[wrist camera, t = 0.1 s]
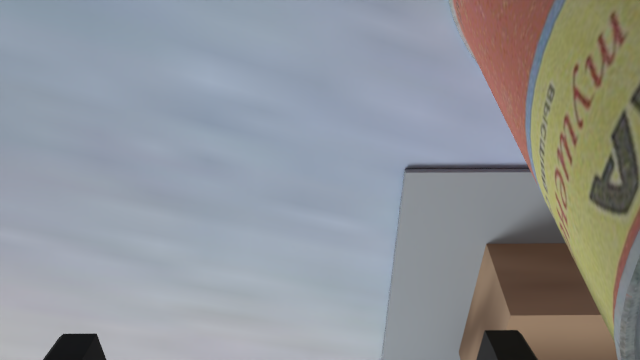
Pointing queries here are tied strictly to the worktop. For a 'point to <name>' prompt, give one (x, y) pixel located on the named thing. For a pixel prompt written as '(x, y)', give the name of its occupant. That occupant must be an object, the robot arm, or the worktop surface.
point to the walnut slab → (536, 304)
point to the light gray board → (453, 251)
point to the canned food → (574, 129)
